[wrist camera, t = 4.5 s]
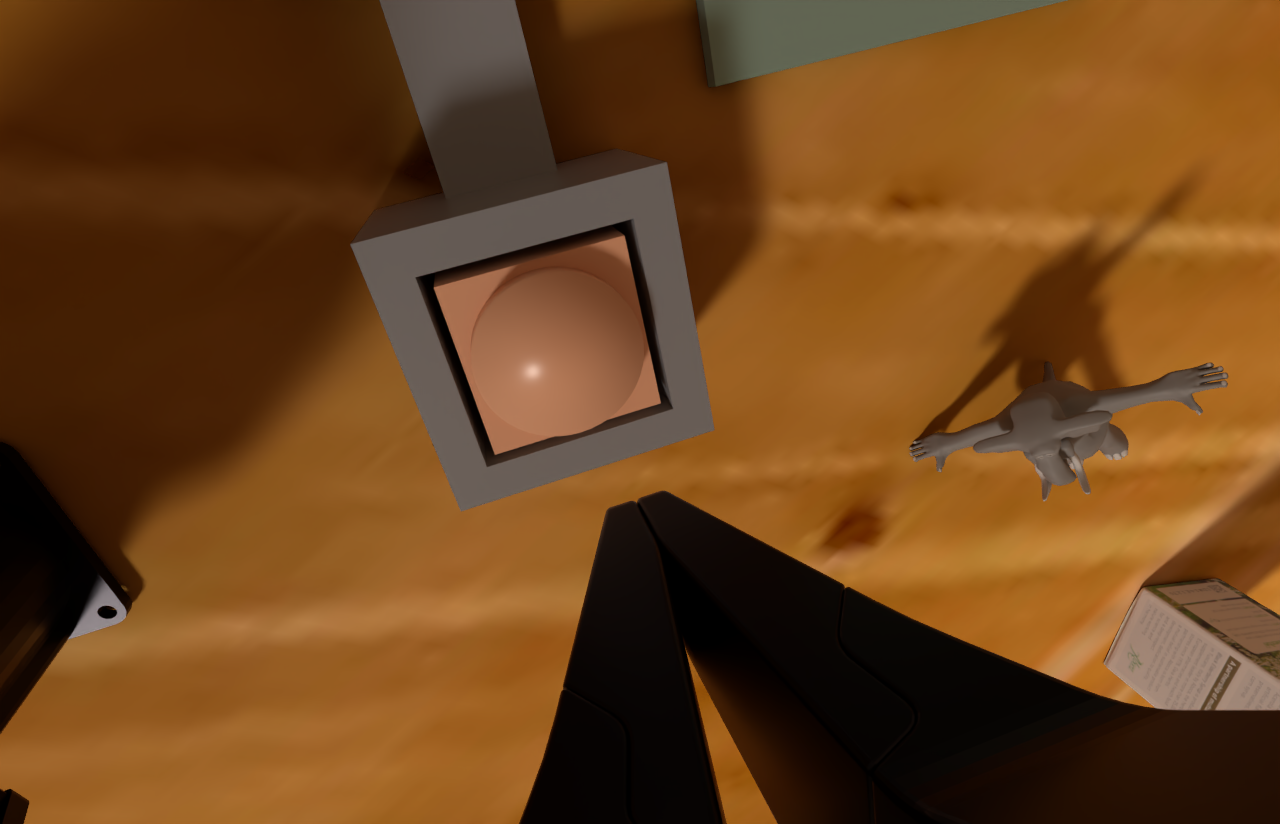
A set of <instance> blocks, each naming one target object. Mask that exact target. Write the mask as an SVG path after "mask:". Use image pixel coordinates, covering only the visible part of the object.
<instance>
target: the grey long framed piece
mask: <svg viewBox="0 0 1280 824" xmlns="http://www.w3.org/2000/svg"><path fill="white" fill-rule="evenodd" d="M379 1H380V4H381V7H382V10H383V13H384V16H385V18H386V21H387V24H388V27H389V30H390V33H391V36H392V39H393V42H394V45H395V48H396V51H397V54H398V57H399V60H400V63H401V66H402V69H403V72H404V75H405V78H406V81H407V84H408V87H409V90H410V93H411V96H412V99H413V102H414V105H415V108H416V111H417V114H418V117H419V120H420V123H421V126H422V129H423V132H424V135H425V138H426V141H427V144H428V147H429V150H430V153H431V156H432V159H433V162H434V165H435V168H436V171H437V174H438V177H439V180H440V183H441V186H442V189H443V191H444V193H440V194H436V195H432V196H428V197H424V198H420V199H416V200H412V201H408V202H404V203H400V204H397V205H393V206H389V207H385V208H381V209H377V210H374V211H373V213H372V214H371V216H370V217H369V218H368V220H367V221H366V223H365V224H364V225H363V227H362V228H361V230H360V231H359V233H358V234H357V235H356V237H355V238H354V240H353V241H352V242H351V244H350V245H351V247H352V250H353V252H354V255H355V257H356V259H357V262H358V264H359V267H360V269H361V271H362V274H363V276H364V279H365V281H366V284H367V286H368V288H369V291H370V293H371V296H372V298H373V300H374V303H375V305H376V308H377V310H378V312H379V315H380V317H381V320H382V322H383V325H384V327H385V329H386V332H387V334H388V337H389V339H390V341H391V344H392V346H393V349H394V351H395V353H396V356H397V358H398V361H399V363H400V366H401V368H402V370H403V373H404V375H405V378H406V380H407V382H408V385H409V387H410V390H411V392H412V394H413V397H414V399H415V402H416V404H417V406H418V409H419V411H420V414H421V416H422V419H423V421H424V423H425V426H426V428H427V431H428V433H429V435H430V438H431V440H432V443H433V445H434V447H435V450H436V452H437V455H438V457H439V460H440V462H441V464H442V467H443V469H444V472H445V474H446V476H447V479H448V481H449V484H450V486H451V488H452V491H453V493H454V496H455V498H456V501H457V503H458V505H459V508H460V510H461V511H464V510H467V509H470V508H473V507H476V506H479V505H482V504H485V503H488V502H492V501H495V500H498V499H501V498H504V497H507V496H510V495H513V494H516V493H520V492H523V491H526V490H529V489H532V488H535V487H538V486H541V485H545V484H548V483H551V482H554V481H557V480H560V479H563V478H566V477H569V476H573V475H576V474H579V473H582V472H585V471H588V470H591V469H594V468H598V467H601V466H604V465H607V464H610V463H613V462H616V461H619V460H622V459H626V458H629V457H632V456H635V455H638V454H641V453H644V452H647V451H650V450H654V449H657V448H660V447H663V446H666V445H669V444H672V443H675V442H679V441H682V440H685V439H688V438H691V437H694V436H697V435H700V434H703V433H707V432H710V431H713V430H714V425H713V419H712V413H711V408H710V402H709V397H708V391H707V385H706V380H705V374H704V368H703V363H702V357H701V352H700V346H699V340H698V335H697V329H696V323H695V318H694V312H693V306H692V301H691V295H690V290H689V284H688V278H687V273H686V267H685V261H684V256H683V250H682V244H681V239H680V233H679V228H678V222H677V216H676V211H675V205H674V199H673V194H672V188H671V183H670V177H669V171H668V166H667V162H665V161H661V160H657V159H653V158H650V157H646V156H642V155H639V154H635V153H631V152H628V151H624V150H620V149H613V150H609V151H605V152H601V153H598V154H594V155H590V156H586V157H582V158H578V159H574V160H570V161H566V162H562V163H558V164H556V162H555V158H554V154H553V150H552V146H551V142H550V138H549V134H548V130H547V126H546V122H545V118H544V114H543V110H542V106H541V102H540V98H539V94H538V91H537V87H536V83H535V79H534V75H533V71H532V67H531V63H530V59H529V55H528V51H527V47H526V43H525V39H524V35H523V31H522V27H521V23H520V19H519V15H518V11H517V7H516V3H515V0H379ZM608 225H611V226H613V227H614V228H615V229H617V230H618V231H619V232H621V233H622V234H623V235H624V236H625V240H626V245H627V249H628V254H629V259H630V263H631V268H632V272H633V277H634V282H635V286H636V291H637V295H638V300H639V305H640V309H641V314H642V319H643V323H644V328H645V332H646V337H647V342H648V346H649V351H650V355H651V360H652V365H653V369H654V374H655V378H656V383H657V388H658V392H659V397H660V401H661V403H660V404H657V405H654V406H650V407H647V408H644V409H641V410H638V411H634V412H631V413H628V414H625V415H622V416H618V417H615V418H612V419H609V420H606V421H604V422H603V423H601V424H599V425H597V426H595V427H594V428H592V429H589V430H586V431H584V432H581V433H577V434H573V435H566V436H554V437H551V438H548V439H544V440H541V441H538V442H535V443H532V444H528V445H525V446H522V447H519V448H516V449H512V450H509V451H506V452H503V453H499V454H496V455H495V453H494V451H493V448H492V445H491V443H490V440H489V437H488V434H487V432H486V429H485V426H484V423H483V421H482V418H481V415H480V413H479V410H478V407H477V404H476V402H475V399H474V396H473V393H472V391H471V388H470V385H469V382H468V380H467V377H466V374H465V372H464V369H463V366H462V363H461V361H460V358H459V355H458V352H457V350H456V347H455V344H454V342H453V339H452V336H451V333H450V331H449V328H448V325H447V322H446V320H445V317H444V314H443V311H442V309H441V306H440V303H439V301H438V298H437V295H436V292H435V290H434V279H435V272H437V271H441V270H445V269H448V268H452V267H456V266H460V265H463V264H467V263H471V262H474V261H478V260H482V259H486V258H489V257H493V256H497V255H500V254H504V253H508V252H511V251H515V250H519V249H523V248H526V247H530V246H534V245H537V244H541V243H545V242H549V241H552V240H556V239H560V238H563V237H567V236H571V235H575V234H578V233H582V232H586V231H589V230H593V229H597V228H600V227H604V226H608Z"/></svg>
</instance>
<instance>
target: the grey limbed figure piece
mask: <svg viewBox="0 0 1280 824" xmlns="http://www.w3.org/2000/svg"><path fill="white" fill-rule="evenodd" d="M1213 366H1214V364H1213V363H1206V364H1204V365H1200V366H1198V367H1194V368H1191V369H1185V370H1179V371H1174V372H1170V373H1168V374H1166V375H1164V376H1162V377H1161V378H1159V379H1157V380H1154V381H1152V382H1149V383H1146V384H1141V385H1135V386H1130V387H1122V388H1115V389H1107V390H1099V391H1090V390H1088V389H1086V388H1085V387H1083V386H1081V385H1078V384H1076V383H1073V382H1066V381H1058V380H1056V379H1055V376H1054V372H1053V367H1052V364H1051V363H1050V362H1046V363H1045V365H1044V376H1043V382H1042V383H1039V384H1035V385H1032V386H1029V387H1028V388H1026V389H1025V390H1024V391H1023V392H1022V393H1021V394H1020V395H1019V396H1018V397H1017V398H1016V399H1015V400H1014V401H1013V402H1011V403H1010V404H1009V405H1008V406H1007V407H1006V408H1005V409H1004V410H1003V411H1002V412H1000V413H999V414H998V415H997V416H995V417H994V418H991V419H989V420H987V421H984V422H981V423H977V424H974V425H972V426H970V427H968V428H966V429H963V430H961V431H958V432H954V433H941V432H937V433H934V434H931V435H929V436H927V437H925V438H923V439H920V440H916V441H913V444H915V446H912V447H910V448H909V449H910V450H911V451H912V450H915V449H918V448H921V449H918V450H915V451H912V452H910V456H915V455H918V454H920V453H924V454H921V455H918V456H915V457H913V460H914V461H915V462H917V461H918V460H921V459H924V458H927V457H931V456H935V457H936V461H937V471H939V472H942V467H943V466H944V463H945V459H946V458H947V456H948V455H949V454H951V453H952V452H954V451H956V450H959V449H963V448H966V447H971V446H973V449H974V450H975V451H976V452H977V453H989V452H997V453H1003V452H1009V451H1017V450H1019V451H1023V452H1024V455H1025V456H1026V458H1027V459H1028V460H1030V461H1031V462H1032V463H1033V464H1034V465H1035V471H1036V472H1037V473H1038V474H1039V476H1040V478H1041V480H1042V498H1043V501H1046V500H1047V497H1048V495H1049V493H1050V490H1051V485H1052V484H1054V485H1058V486H1061V485H1066V484H1069V483H1071V482H1073V481H1074V480H1075V479H1076V478H1077V477H1078V480H1079V482H1080V485H1081V487H1082V490H1083V491H1084V492H1085V493H1086V494H1090V492H1091V489H1090V486H1089V483H1088V480H1087V477H1086V474H1085V472H1084V469H1083V466H1082V465H1083V461H1084V459H1086V458H1089V457H1091V456H1093V455H1094V454H1095V453H1096V452H1097V451H1098V450H1100V451H1101V452H1102V453H1103V454H1104V455H1105V456H1106V457H1107V458H1108V459H1110V460H1113V457H1114V459H1115V460H1119V459H1122V457H1125V456H1126V455H1128V440H1127V438H1126V436H1125V434H1124V433H1123V432H1122V430H1120V429H1119V428H1118V427H1116V426H1115V425H1112V424H1110V423H1109V421H1110V420H1111V418H1112V413H1115V412H1118V411H1121V410H1124V409H1127V408H1130V407H1133V406H1137V405H1141V404H1145V403H1149V402H1153V401H1168V400H1174V401H1178V402H1182V403H1183V404H1185V405H1187V406H1188V407H1189V408H1190V409H1192V410H1195V411H1196V412H1197V414H1198V415H1200V414H1201V413H1203V410H1202V409H1201V407H1200V406H1199V405H1198V404H1197V403H1196V402H1195V401H1194V399H1193V396H1192V393H1195V392H1200V391H1204V390H1208V389H1214V388H1219V387H1227V385H1228V383H1227V382H1226V381H1218V382H1212V383H1207V382H1210V381H1214V380H1220V379H1227V378H1228V374H1227V373H1219V374H1214V375H1209V376H1204V375H1207V374H1211V373H1216V372H1222V371H1223V367H1222V366H1220V367H1216V368H1212V367H1213ZM1209 368H1210V369H1209ZM1204 369H1205V370H1204ZM1204 383H1205V384H1204ZM1121 455H1122V456H1121ZM1070 467H1071V469H1075V471H1076V474H1077V477H1076V475H1075V473H1074V472H1073V471H1072V470H1071V469H1070Z"/></svg>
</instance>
